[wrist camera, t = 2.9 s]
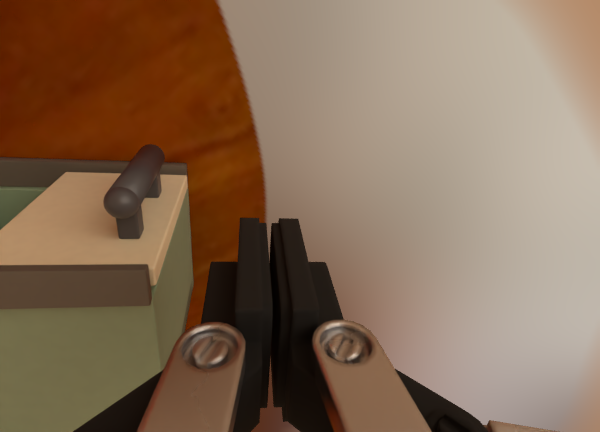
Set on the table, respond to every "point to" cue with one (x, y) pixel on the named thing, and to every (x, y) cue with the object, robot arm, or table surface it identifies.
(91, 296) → the cupboard
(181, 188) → the door
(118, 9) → the table surface
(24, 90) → the table surface
